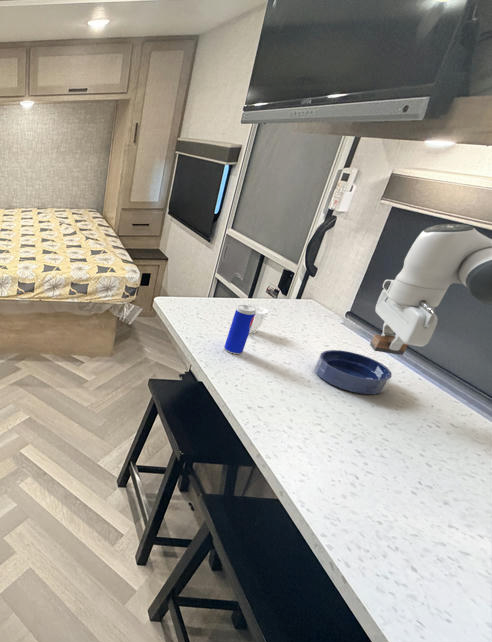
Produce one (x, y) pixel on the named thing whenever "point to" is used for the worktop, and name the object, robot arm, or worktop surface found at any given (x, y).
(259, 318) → the cup
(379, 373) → the bowl
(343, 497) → the worktop surface
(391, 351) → the eraser
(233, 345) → the beverage can
